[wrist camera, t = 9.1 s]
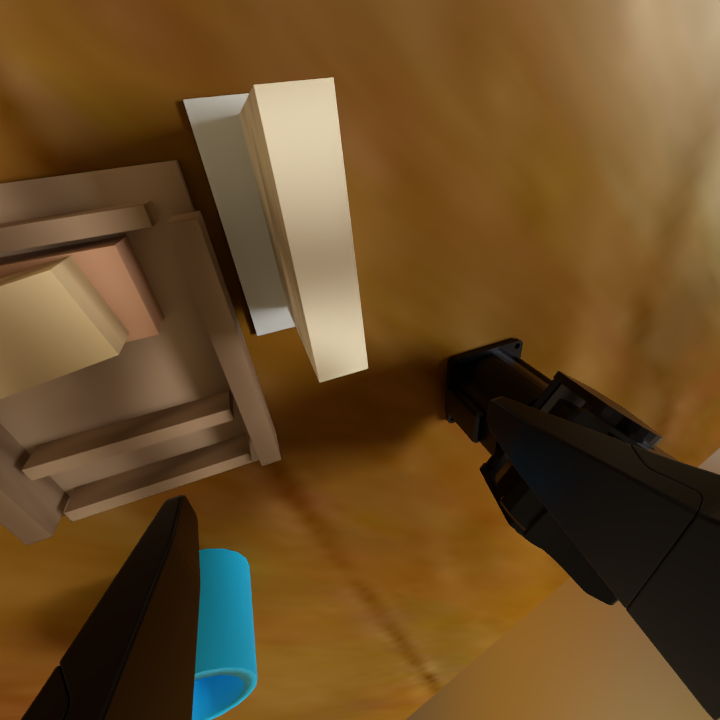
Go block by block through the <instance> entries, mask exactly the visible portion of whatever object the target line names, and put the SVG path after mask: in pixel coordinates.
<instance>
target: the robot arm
mask: <svg viewBox="0 0 720 720" xmlns="http://www.w3.org/2000/svg"><path fill="white" fill-rule="evenodd" d="M522 345H523V343H522V341H521V340H519V339H517V338H515V339H511V340H508V341H505V342H501V343H498V344H495V345H491V346H488V347H485V348H482V349H478V350H475V351H472V352H468V353H465V354H462V355H459V356H455V357H453V358H451V359H450V360H449V361H448V367H447V385H446V394H445V410H446V420H447V421H448V422H449V423H454V422H456V423H457V424H458V425H459V426H460V428H461V429H462V430H463V431H464V432H465V433H466V434H467V436H468V437H469V438H470V439H471V440H472V441H473V442H475V443H478V442H480V443H481V444H482V445H483V446H484V447H485V448H486V449H487V451H488V452H489V453H490V454H491V455H492V456H491V457H490V458H489V460H488V461H487V462H486V463H484V464H483V465H482V466H481V467H480V471H481V473H482V475H483V477H484V479H485V481H486V483H487V485H488V486H489V488H490V490H491V492H492V494H493V496H494V498H495V499H496V501H497V503H498V505H499V507H500V509H501V511H502V512H503V514H504V516H505V518H506V520H507V522H508V523H509V525H510V526H511V527H513V528H514V529H515V530H516V531H517V533H519V534H520V535H522V536H523V537H524V538H525V539H527V540H528V541H529V542H531V543H532V544H534V545H535V546H537V547H539V548H541V549H543V550H544V551H545V552H546V553H547V554H549V555H550V556H551V557H552V558H553V559H554V560H555V561H556V562H557V563H558V564H559V565H560V566H561V567H562V568H563V569H564V570H565V571H566V572H567V573H568V574H569V575H570V576H571V577H572V578H573V580H574V581H575V582H576V583H577V584H578V585H579V586H580V587H581V588H582V589H583V590H584V591H585V592H586V593H588V594H589V595H591V596H593V597H595V598H597V599H599V600H600V601H602V602H604V603H606V604H609V605H614V604H615V603H616V602H617V601H618V600H619V601H620V602H621V603H622V605H623V606H624V607H625V608H627V609H626V610H627V611H628V613H629V614H630V615H631V617H632V618H633V619H634V620H635V622H636V623H637V624H638V625H639V627H640V628H641V629H642V630H643V632H644V633H645V634H646V636H647V637H648V638H649V639H650V641H651V642H652V643H653V644H654V646H655V647H656V648H657V650H658V651H659V652H660V653H661V655H662V656H663V657H664V658H665V660H666V661H667V662H668V663H669V665H670V666H671V667H672V669H673V670H674V671H675V672H676V674H677V675H678V676H679V678H680V679H681V680H682V681H683V683H684V684H685V685H686V686H687V688H688V689H689V690H690V691H691V693H692V694H693V695H694V697H695V698H696V699H697V700H698V702H699V703H700V704H701V706H702V707H703V708H704V709H705V710H706V712H707V713H708V714H709V715H710V716H711V717H712V718H713V719H714V720H718V719H720V475H718V474H715V473H713V472H709V471H706V470H703V469H700V468H697V467H694V466H691V465H688V464H685V463H682V462H679V461H678V460H676V459H675V458H673V457H672V456H670V455H669V454H667V453H665V452H664V451H662V450H661V449H659V448H658V447H656V445H657V444H658V443H659V442H660V441H661V440H662V439H663V437H662V436H661V435H660V434H658V433H657V432H656V431H654V430H653V429H652V428H650V427H649V426H648V425H646V424H645V423H643V422H642V421H641V420H639V419H638V418H637V417H635V416H634V415H633V414H631V413H630V412H629V411H627V410H626V409H625V408H623V407H622V406H620V405H618V404H617V403H615V402H614V401H612V400H610V399H609V398H607V397H605V396H604V395H602V394H601V393H599V392H597V391H596V390H594V389H592V388H591V387H589V386H587V385H585V384H583V383H581V382H579V381H577V380H575V379H573V378H571V377H570V376H568V375H566V374H564V373H562V372H560V371H558V372H557V373H556V374H555V376H554V377H553V378H554V379H553V380H550V379H549V378H547V377H546V376H545V375H543V374H542V373H540V372H539V371H537V370H536V369H534V368H533V367H532V366H530V365H529V364H527V363H526V362H524V361H523V360H521V359H520V356H521V351H522ZM454 364H455V365H454ZM199 602H200V559H199V539H198V521H197V516H196V513H195V512H194V510H193V508H192V506H191V504H190V503H189V501H188V499H187V497H186V496H184V495H180V496H177V497H173V498H170V499H168V500H166V501H165V503H164V504H163V505H162V507H161V508H160V510H159V512H158V513H157V515H156V516H155V518H154V519H153V521H152V522H151V524H150V525H149V527H148V528H147V530H146V531H145V533H144V534H143V536H142V537H141V539H140V540H139V542H138V543H137V545H136V546H135V548H134V550H133V551H132V553H131V554H130V556H129V557H128V559H127V560H126V562H125V563H124V565H123V566H122V568H121V569H120V571H119V572H118V574H117V575H116V577H115V578H114V580H113V581H112V583H111V585H110V586H109V588H108V589H107V591H106V592H105V594H104V595H103V597H102V598H101V600H100V601H99V603H98V604H97V606H96V607H95V609H94V610H93V612H92V613H91V615H90V616H89V618H88V619H87V621H86V623H85V624H84V626H83V627H82V629H81V630H80V632H79V633H78V635H77V636H76V638H75V639H74V641H73V642H72V644H71V645H70V647H69V648H68V650H67V651H66V653H65V654H64V656H63V657H62V659H61V661H60V666H57V667H56V668H55V669H54V671H53V672H52V674H51V675H50V677H49V679H48V680H47V682H46V683H45V685H44V686H43V688H42V689H41V691H40V692H39V694H38V695H37V697H36V698H35V699H34V701H33V702H32V704H31V705H30V707H29V708H28V710H27V711H26V713H25V714H24V716H23V717H22V719H21V720H192V710H193V695H194V679H195V664H196V649H197V633H198V618H199Z"/></svg>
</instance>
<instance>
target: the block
mask: <svg viewBox="0 0 720 720" xmlns="http://www.w3.org/2000/svg"><path fill="white" fill-rule="evenodd" d="M239 116H240V120H241V124H242V128H243V132H244V136H245V140H246V144H247V148H248V152H249V156H250V160H251V164H252V168H253V172H254V176H255V180H256V184H257V188H258V192H259V196H260V200H261V204H262V208H263V212H264V216H265V220H266V224H267V228H268V232H269V236H270V240H271V245H272V249H273V253H274V257H275V261H276V265H277V269H278V273H279V277H280V281H281V285H282V289H283V293H284V297H285V301H286V305H287V308H288V310H289V313H290V315H291V317H292V320H293V322H294V324H295V327H296V329H297V331H298V334H299V336H300V338H301V341H302V343H303V345H304V348H305V350H306V352H307V355H308V357H309V359H310V362H311V364H312V366H313V369H314V371H315V373H316V376H317V378H318V380H319V383H321V382H324V381H328V380H331V379H334V378H338V377H341V376H345V375H348V374H351V373H355V372H358V371H361V370H365V369H368V362H367V354H366V345H365V337H364V329H363V320H362V312H361V303H360V295H359V287H358V278H357V270H356V262H355V253H354V245H353V237H352V228H351V220H350V212H349V203H348V195H347V187H346V178H345V170H344V162H343V153H342V145H341V137H340V128H339V120H338V112H337V103H336V95H335V87H334V78H322V79H312V80H301V81H290V82H280V83H269V84H259V85H253V87H252V89H251V91H250V93H249V95H248V97H247V99H246V101H245V103H244V105H243V107H242V109H241V111H240V114H239Z"/></svg>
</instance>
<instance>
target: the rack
mask: <svg viewBox="0 0 720 720" xmlns="http://www.w3.org/2000/svg"><path fill="white" fill-rule="evenodd" d="M120 236H127V238H128V240H129V242H130V244H131V246H132V248H133V251H134V253H135V255H136V257H137V259H138V261H139V263H140V265H141V268H142V270H143V272H144V274H145V276H146V278H147V280H148V283H149V285H150V287H151V289H152V291H153V293H154V295H155V297H156V300H157V302H158V304H159V306H160V308H161V310H162V312H163V314H164V317H165V318H164V321H163V324H162V327H161V330H160V333H159V334H158V335H154V336H150V337H146V338H141V339H137V340H133V341H129V342H125V344H124V346H123V348H122V350H121V351H120V353H119V355H117V356H114V357H112V358H109V359H106V360H104V361H101V362H98V363H96V364H93V365H90V366H88V367H85V368H82V369H80V370H77V371H74V372H72V373H69V374H66V375H64V376H61V377H58V378H56V379H53V380H50V381H48V382H45V383H42V384H40V385H37V386H34V387H32V388H29V389H26V390H24V391H21V392H18V393H16V394H13V395H10V396H8V397H5V398H2V399H0V523H1V524H2V525H3V526H4V527H5V528H7V529H8V530H9V531H10V532H11V533H13V534H14V535H15V536H16V537H17V538H19V539H20V540H21V541H22V542H23V543H25V544H26V545H29V544H32V543H35V542H38V541H41V540H44V539H47V538H50V537H53V534H54V532H55V530H56V527H57V525H58V523H59V521H60V518H61V516H62V514H63V513H64V514H65V515H66V516H67V517H68V518H69V519H70V521H71V522H73V521H76V520H79V519H82V518H85V517H88V516H91V515H94V514H97V513H100V512H103V511H106V510H109V509H112V508H116V507H119V506H122V505H125V504H128V503H131V502H134V501H137V500H140V499H143V498H146V497H149V496H152V495H155V494H158V493H161V492H164V491H167V490H170V489H173V488H176V487H179V486H182V485H185V484H188V483H191V482H194V481H197V480H200V479H203V478H206V477H209V476H212V475H215V474H218V473H221V472H224V471H227V470H230V469H233V468H236V467H239V466H242V465H245V464H248V463H251V462H254V461H257V460H260V463H261V465H262V466H264V465H267V464H270V463H273V462H276V461H279V460H282V459H281V454H280V449H279V444H278V439H277V434H276V430H275V427H274V424H273V421H272V418H271V416H270V413H269V410H268V407H267V404H266V401H265V398H264V395H263V392H262V389H261V386H260V383H259V380H258V377H257V375H256V372H255V369H254V366H253V363H252V360H251V357H250V354H249V351H248V348H247V345H246V342H245V339H244V336H243V333H242V331H241V328H240V325H239V322H238V319H237V316H236V313H235V310H234V307H233V304H232V301H231V298H230V295H229V292H228V289H227V287H226V284H225V281H224V278H223V275H222V272H221V269H220V266H219V263H218V260H217V257H216V254H215V251H214V248H213V245H212V243H211V240H210V237H209V234H208V231H207V228H206V225H205V222H204V219H203V216H202V213H201V210H198V211H195V209H194V206H193V203H192V200H191V197H190V194H189V191H188V189H187V186H186V183H185V180H184V177H183V174H182V171H181V169H180V166H179V163H178V160H173V161H166V162H158V163H151V164H143V165H136V166H128V167H121V168H113V169H106V170H98V171H91V172H84V173H76V174H69V175H61V176H54V177H46V178H39V179H31V180H24V181H16V182H9V183H2V184H0V257H5V256H11V255H17V254H22V253H28V252H34V251H40V250H45V249H51V248H57V247H63V246H68V245H74V244H80V243H86V242H91V241H97V240H103V239H108V238H114V237H120Z"/></svg>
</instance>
